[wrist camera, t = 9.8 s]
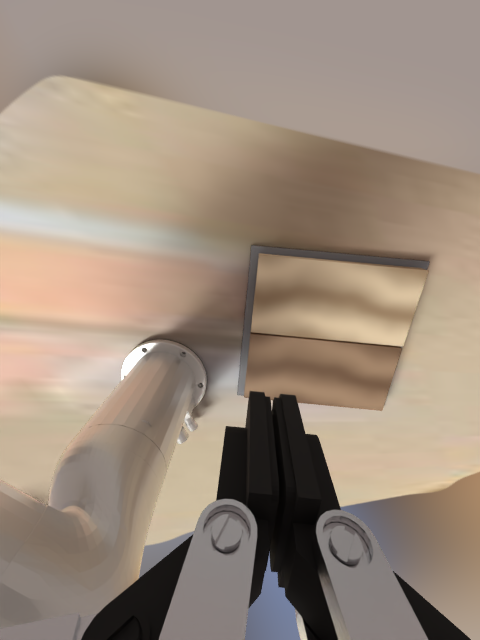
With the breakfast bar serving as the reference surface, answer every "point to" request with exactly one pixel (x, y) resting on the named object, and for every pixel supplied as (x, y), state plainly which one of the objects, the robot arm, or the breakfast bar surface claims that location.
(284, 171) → the breakfast bar surface
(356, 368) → the walnut board
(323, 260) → the ash plank
